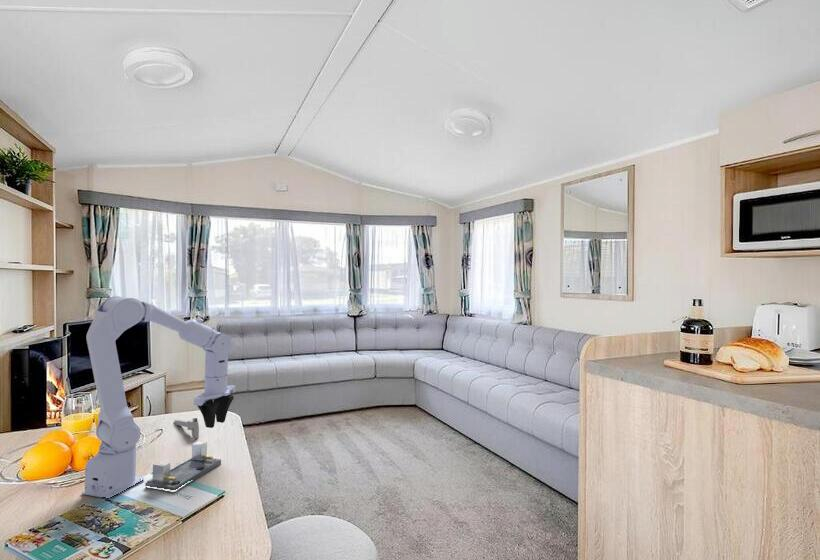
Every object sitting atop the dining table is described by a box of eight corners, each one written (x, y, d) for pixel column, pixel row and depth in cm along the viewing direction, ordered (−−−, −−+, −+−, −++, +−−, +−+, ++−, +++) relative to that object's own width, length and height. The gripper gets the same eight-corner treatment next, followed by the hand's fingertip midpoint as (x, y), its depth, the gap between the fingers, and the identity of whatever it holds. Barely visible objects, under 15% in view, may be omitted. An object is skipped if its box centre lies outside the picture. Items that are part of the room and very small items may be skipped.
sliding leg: (209, 461, 112) (209, 446, 112) (191, 459, 113) (191, 444, 113) (214, 458, 114) (214, 443, 114) (197, 456, 115) (197, 441, 115)
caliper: (198, 439, 131) (199, 419, 131) (195, 440, 131) (195, 419, 131) (176, 422, 146) (177, 404, 146) (173, 423, 145) (173, 404, 145)
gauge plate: (174, 492, 99) (174, 470, 99) (145, 488, 101) (145, 465, 101) (221, 464, 114) (221, 444, 114) (195, 460, 116) (195, 440, 116)
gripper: (210, 382, 112) (209, 435, 112) (245, 371, 126) (244, 417, 126) (187, 380, 113) (186, 432, 113) (224, 369, 128) (223, 415, 128)
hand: (215, 424), depth 120 cm, fingers open, 4 cm apart
